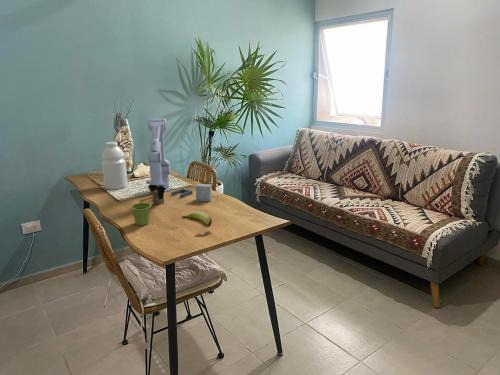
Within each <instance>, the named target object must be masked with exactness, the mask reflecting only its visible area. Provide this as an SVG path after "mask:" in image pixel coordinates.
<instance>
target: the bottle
mask: <svg viewBox="0 0 500 375" xmlns="http://www.w3.org/2000/svg"><path fill="white" fill-rule="evenodd" d="M105 146H106V147H104V149H103V150H102V153H101V156H100V157H101V158H102V161H101V168H102V177H103V183H104V184H103V186H104V188H105V189H106V190H111V191H112V190H113V191H116V190H122V189H125V188H128V186H129V182H128V174H127V162H126V159H124V156H125V153H124V151H123V150H122V149H121V148H120V147H119V144H118V142H117V141H107V142H105Z"/></svg>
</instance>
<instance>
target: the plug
mask: <svg viewBox="0 0 500 375" xmlns="http://www.w3.org/2000/svg"><path fill="white" fill-rule="evenodd" d="M152 192H153V199H152V202H153V203H152V204H155V205H158V206H159V205H162V204H164V203H165V194H163V199H159V197H158V192H157V190H155V191H152Z"/></svg>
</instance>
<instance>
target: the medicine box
mask: <svg viewBox="0 0 500 375" xmlns="http://www.w3.org/2000/svg"><path fill="white" fill-rule="evenodd" d="M212 198H213V197H212V184H210V183H209V184H208V183H207V184H205V183H202V184H201V183H200V184H199V183H197V185H195V200H196V202H211V201H210V200H212Z"/></svg>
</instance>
